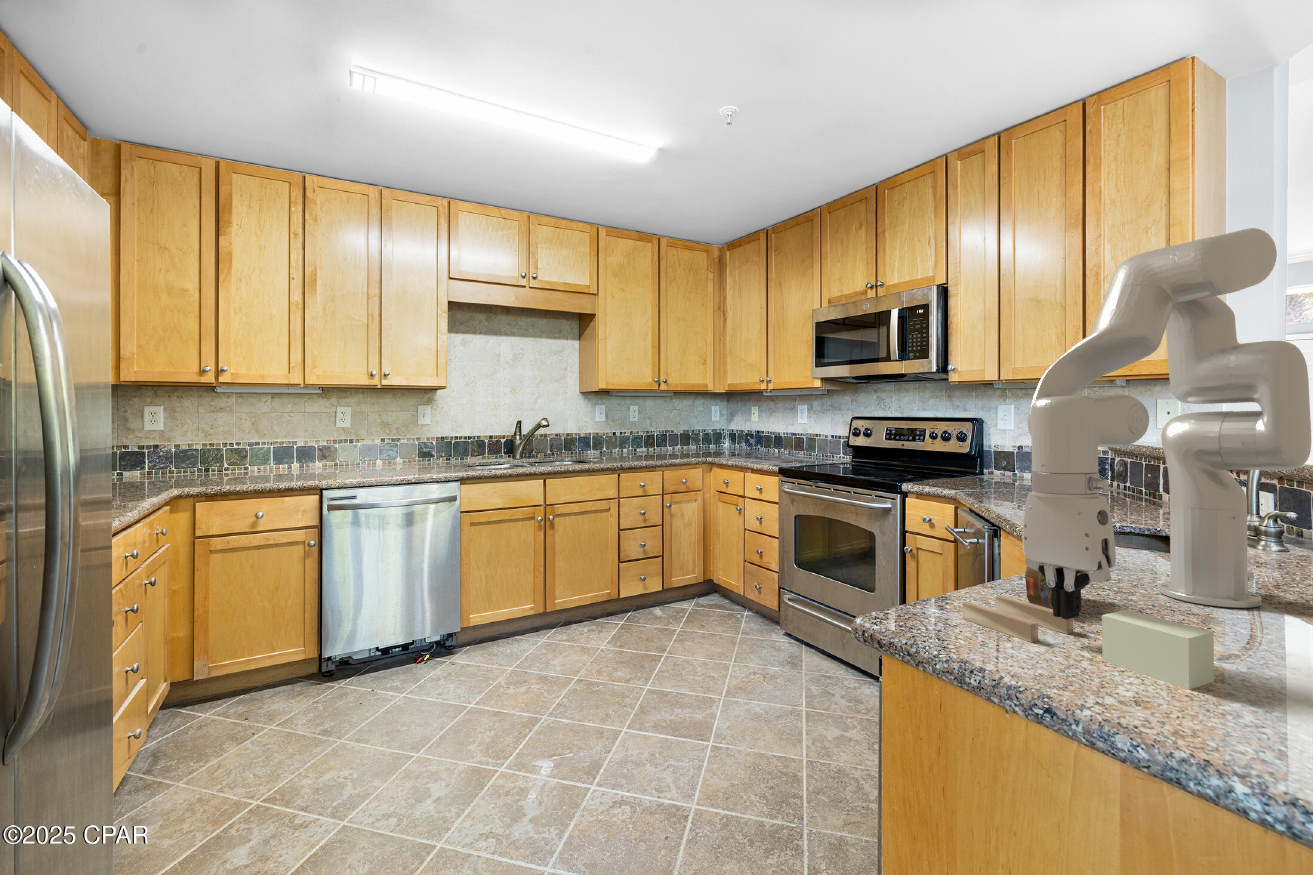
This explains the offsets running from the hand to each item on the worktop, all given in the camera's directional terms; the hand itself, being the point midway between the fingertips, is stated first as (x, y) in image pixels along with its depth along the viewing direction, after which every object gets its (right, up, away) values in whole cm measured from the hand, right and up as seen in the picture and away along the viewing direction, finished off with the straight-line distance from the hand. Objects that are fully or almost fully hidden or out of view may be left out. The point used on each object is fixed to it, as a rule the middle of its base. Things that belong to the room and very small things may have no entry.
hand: (1066, 616), depth 80 cm
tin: (+10, -3, +17) cm, 20 cm away
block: (+4, -4, -10) cm, 11 cm away
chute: (-3, -4, +7) cm, 8 cm away
